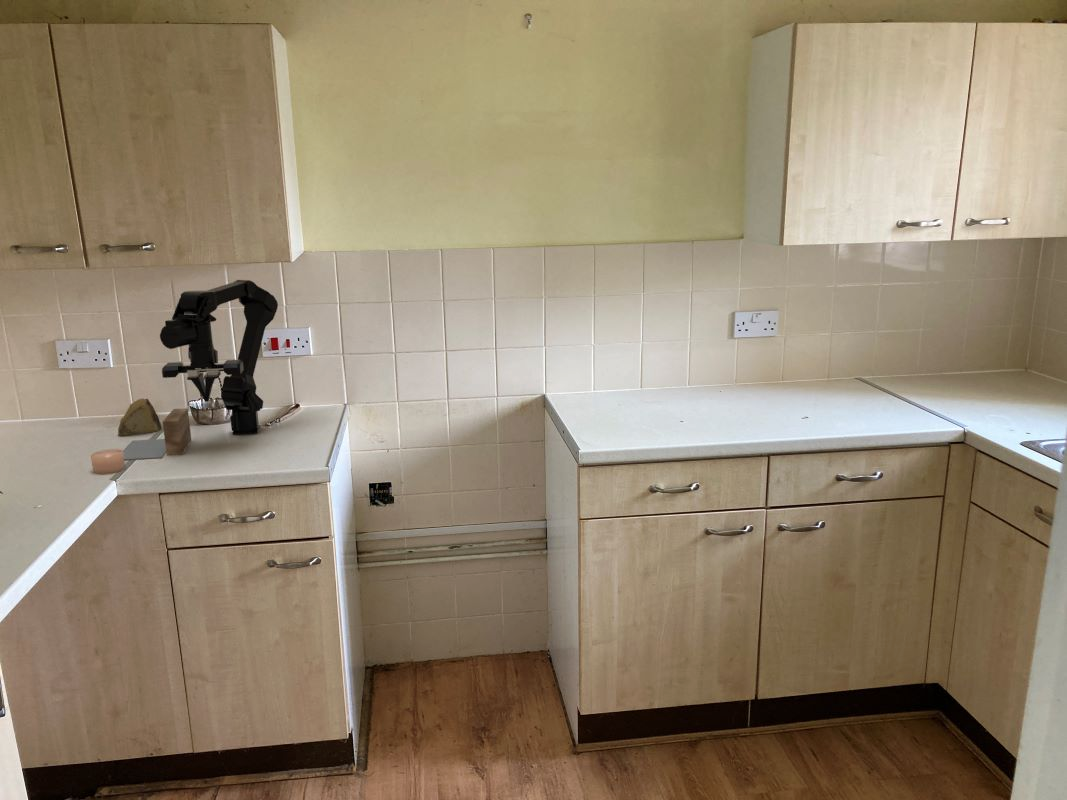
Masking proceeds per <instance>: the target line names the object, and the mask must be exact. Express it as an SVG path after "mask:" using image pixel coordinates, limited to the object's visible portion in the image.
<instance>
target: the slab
mask: <svg viewBox="0 0 1067 800" xmlns="http://www.w3.org/2000/svg"><path fill="white" fill-rule="evenodd" d="M190 425H191V424H190V416H189V408H187V407H186V408H173V409H172V410H171V411H170V413H168V415H167V416H166V417H165V418H164V419H163V420H162V428H163V435H164V439H165V445H166V453H165V454H166V457H168V456H182V455H183V453H184V452H185V451H186V450H187V448H188V446H189V445H190V443H191V442H192V433H191V426H190Z"/></svg>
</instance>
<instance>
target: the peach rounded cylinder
mask: <svg viewBox="0 0 1067 800" xmlns="http://www.w3.org/2000/svg"><path fill="white" fill-rule="evenodd" d="M125 461H126V460H124V454H123V450H122V449H119V448H113V449H112V448H109V449H103V450H99V451H96V452H93V453H92V454H91V455H90V462H91V467H92V473H94V474H96V475H97V474H98V475H107V474H108V475H109V474H115V473H118V472H121V471H123V470H125V469H126V462H125Z"/></svg>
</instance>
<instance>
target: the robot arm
mask: <svg viewBox="0 0 1067 800" xmlns="http://www.w3.org/2000/svg"><path fill="white" fill-rule="evenodd" d="M235 300H238V302H239V303H240V304H241V305H242V306H243V307H244V308H243V316H244V317H245V320H246V325H245V329H244V332H243V337H242V341H241V345H240V349H239V353H238V355H237V359H226V360H225V362H224V363H219V354H218V350H217V349H215V348H214V341H213V333H212V325H211V323H213V322H216V321H217V318H216V317H215V316H214V315H212V313H213V312H215V311H216V310H217V309H218V307H219V306H220V305H224V304H226V303H228V302H231V301H235ZM278 307H279V303H278V300H277V299H276V297H275V296H274V295H273V294H271V292H269V291H267V290H266V289H263V288H262V287H261V286H258V285H257V284H256V283H255V282H254V281H252V280H250V279H249V280H248V279H236V280H234V281H233V282H230V283H227V284H223V285H220V286H217V287H214V288H210V289H207V290H186V291H183V292H182V293H181V294H180V298H179V300H178V302H177V305H176V307H175V309H174V312H173V314H172V317H171V319H168V320H165V321H164V323H165V324H164V326H163V327H162V328H161V330H160V334H159V338H160V341H161V343H162V344H163V346H164V347H165V348H167V349H169V350H173V349H177V348H181V347H184V346H188V360H189V361H190V363H189V365H184V363H183V362H182V361H178V362H177V361H176V362H175V361H174V362H167V363H166V364H165V365H164V366H163V367H161V374H162V378H164V379H167V378H176V377H177V376H178V375H179V374H187V377H186V379H187V380H188V381H191V382H192V383H193V384H194V386H195V388H196V389H197V390H198V392H199V394H200V395H201V397H202V399H203V400H204V402H205V403H208V402H209V401H210V398H211V393H212V389H213V385H214V383H215V380H216V379H219V377H220V376H221V374H222V373H221V372H223V373H225V374H226V376H224V378H223V383H222V385H221V386H222V387H220V391H221V393H220V396H221V397H220V398H221V399H222V402H223V405H224V407H225V409H226V411H231V415H230V417H229V418H230V427H231V429H230V430H231V432H232V435H246V434H247V435H248V434H257V433H259V430H260V428H261V425H260V424H259V412H260V411H261V410H262V409H263V408H264V407H263V406H264V400H263V399H262V397H260V396H259V395H258V394H257V393H256V392H257V385H256V382H255V379H254V376H255V375H254V373H255V371H256V370H255V369H256V366H257V362H258V359H259V355H260V351H261V347H262V342H263V338H264V334H265V330H266V327H267V326H268V325H269V324H270V323H271V322H273V320H274V318H275V315H276V314H277V311H278ZM204 373H206V375H205V374H204ZM204 375H205V377H204Z"/></svg>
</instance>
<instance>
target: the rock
mask: <svg viewBox="0 0 1067 800" xmlns="http://www.w3.org/2000/svg"><path fill="white" fill-rule="evenodd" d="M162 428H163V425H162V423H161V421H160V418H159V415H158V414H157V411H156V409H155V408H154V406H153V405H152V403H151V402H150V401H149V398H139V399H136V401H134V402H132V403H130V404H129V407H128V408H127V410H126V412H125V414H124V415H123V416H122V417H121V419H120V421H119V425H118V428H117V435H118V436H119V437H120V436H122V437H123V436H131V435H133V436H134V435H141V434H148V433H155V432H157V431H160V430H162Z"/></svg>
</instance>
